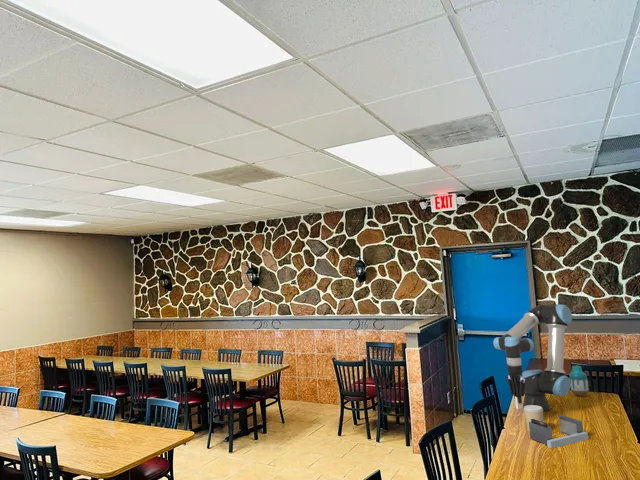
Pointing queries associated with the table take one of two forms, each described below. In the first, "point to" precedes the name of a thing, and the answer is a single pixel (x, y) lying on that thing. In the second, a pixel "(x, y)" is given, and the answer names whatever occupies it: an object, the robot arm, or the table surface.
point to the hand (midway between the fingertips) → (519, 408)
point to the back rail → (567, 440)
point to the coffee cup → (533, 413)
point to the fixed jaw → (570, 425)
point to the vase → (578, 381)
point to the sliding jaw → (540, 431)
